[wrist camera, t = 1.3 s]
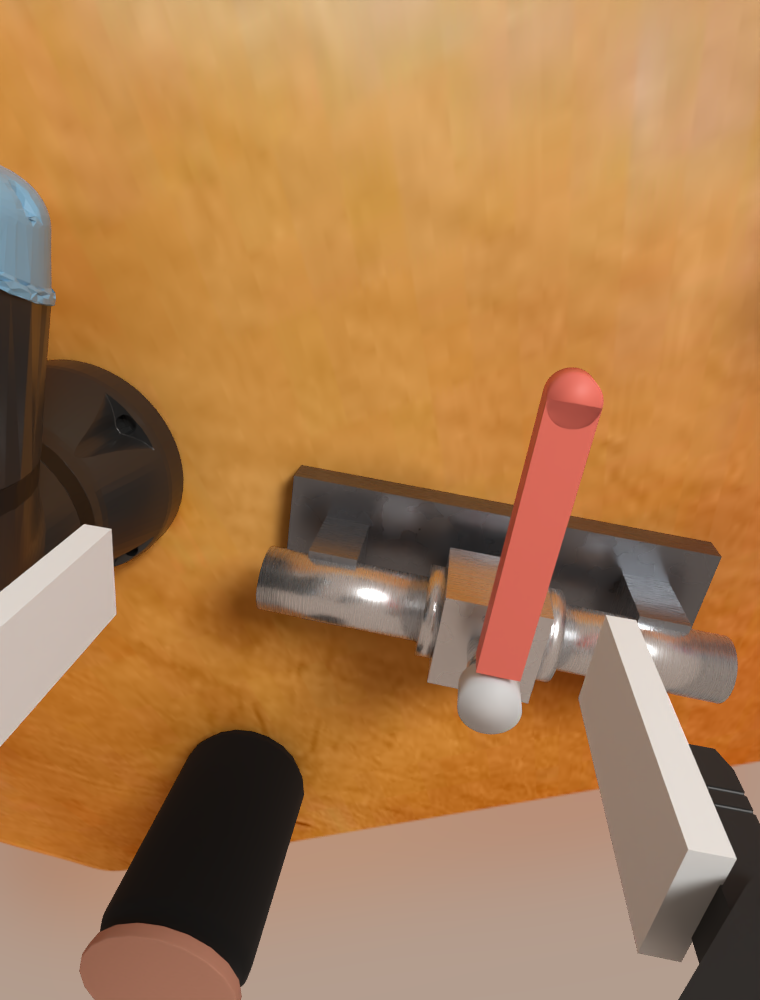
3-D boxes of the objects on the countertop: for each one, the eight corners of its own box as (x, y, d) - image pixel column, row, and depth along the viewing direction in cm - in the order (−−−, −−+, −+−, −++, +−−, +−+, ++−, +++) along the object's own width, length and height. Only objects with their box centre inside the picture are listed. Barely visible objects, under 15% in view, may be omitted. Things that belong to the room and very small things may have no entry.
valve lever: (512, 715, 34) (513, 739, 33) (453, 702, 35) (451, 726, 33) (614, 374, 27) (623, 384, 25) (538, 360, 27) (541, 370, 25)
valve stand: (289, 586, 48) (231, 698, 37) (301, 465, 44) (240, 549, 33) (662, 661, 47) (721, 804, 35) (711, 542, 42) (796, 660, 31)
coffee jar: (169, 742, 57) (45, 952, 41) (267, 709, 54) (175, 922, 37) (233, 824, 60) (141, 1050, 44) (329, 797, 57) (269, 1029, 41)
